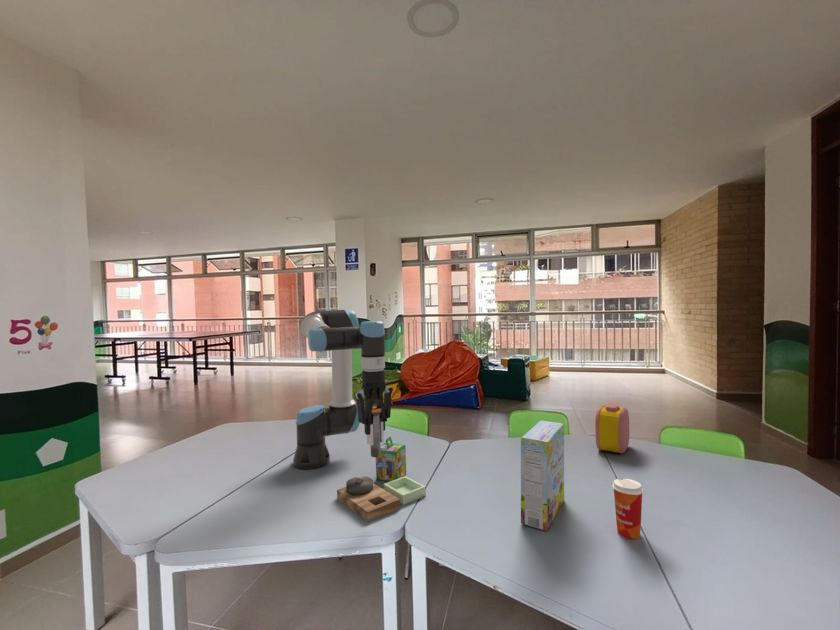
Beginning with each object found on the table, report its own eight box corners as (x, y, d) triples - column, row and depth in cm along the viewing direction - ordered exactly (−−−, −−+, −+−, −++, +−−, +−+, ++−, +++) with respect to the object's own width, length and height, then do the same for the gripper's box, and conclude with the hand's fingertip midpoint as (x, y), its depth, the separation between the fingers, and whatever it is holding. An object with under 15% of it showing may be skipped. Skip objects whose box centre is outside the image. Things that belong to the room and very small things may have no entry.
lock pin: (366, 455, 126) (365, 408, 126) (377, 451, 129) (376, 405, 129) (373, 459, 123) (372, 410, 122) (385, 455, 126) (384, 408, 125)
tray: (383, 492, 138) (383, 483, 138) (405, 484, 144) (405, 476, 144) (403, 504, 129) (403, 495, 129) (425, 495, 135) (425, 486, 135)
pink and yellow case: (603, 440, 184) (603, 399, 184) (630, 445, 178) (629, 402, 178) (595, 453, 169) (594, 408, 169) (623, 458, 163) (622, 411, 163)
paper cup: (607, 527, 113) (606, 478, 112) (633, 525, 113) (632, 476, 113) (624, 543, 105) (622, 490, 105) (651, 540, 105) (650, 488, 105)
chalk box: (397, 483, 145) (396, 443, 145) (375, 480, 148) (374, 441, 148) (407, 473, 154) (406, 435, 154) (386, 470, 157) (385, 433, 157)
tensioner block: (337, 498, 134) (336, 478, 134) (367, 487, 142) (366, 468, 142) (368, 521, 119) (367, 498, 119) (400, 508, 126) (399, 486, 126)
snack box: (550, 533, 110) (548, 442, 110) (519, 525, 115) (517, 437, 115) (566, 500, 129) (565, 422, 128) (540, 494, 133) (538, 419, 133)
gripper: (357, 374, 117) (359, 452, 118) (401, 367, 128) (402, 439, 128) (345, 371, 123) (347, 445, 124) (387, 365, 133) (389, 434, 134)
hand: (375, 442), depth 126 cm, fingers closed on lock pin, 3 cm apart
